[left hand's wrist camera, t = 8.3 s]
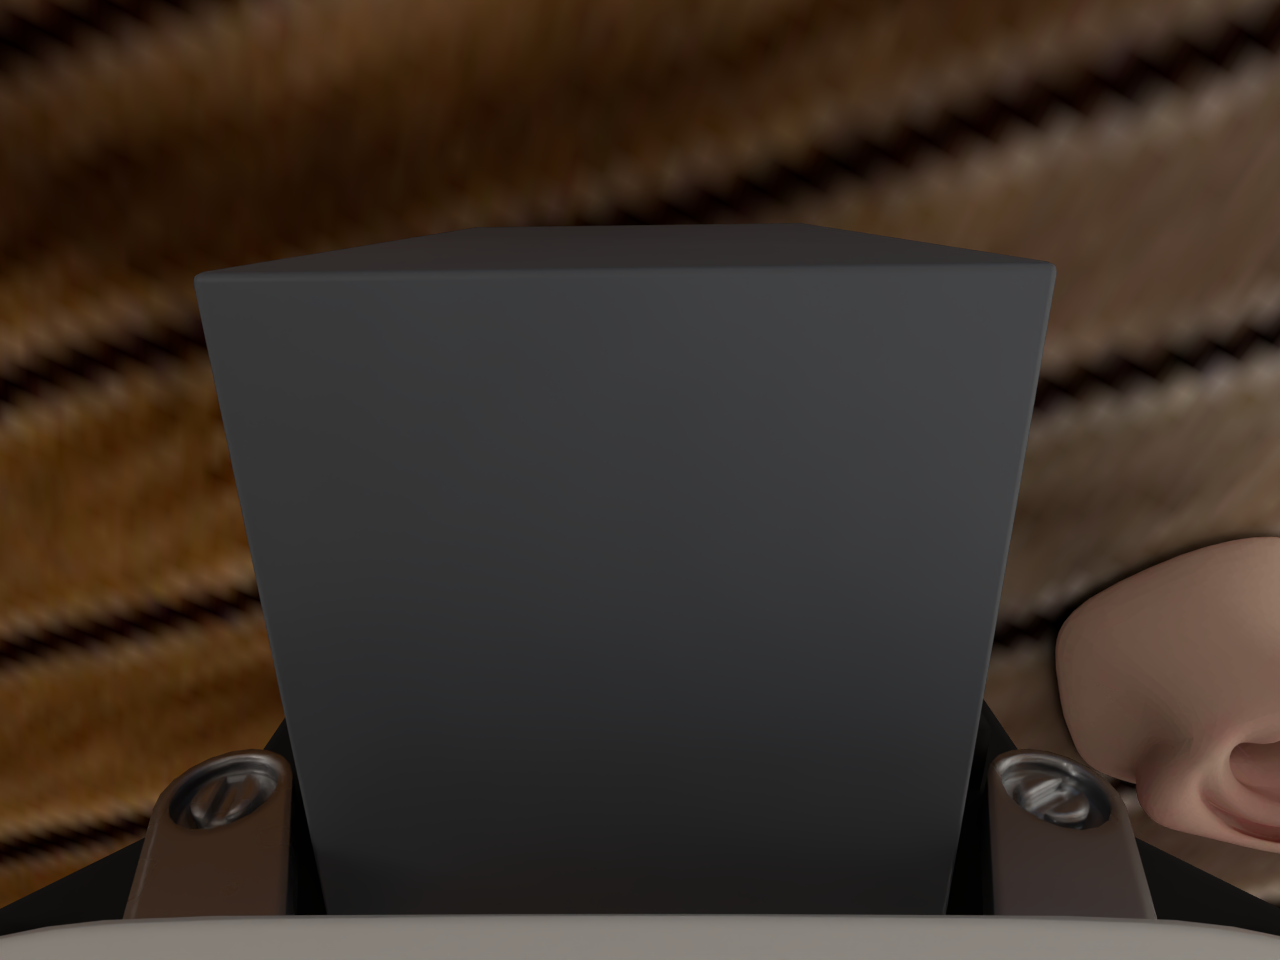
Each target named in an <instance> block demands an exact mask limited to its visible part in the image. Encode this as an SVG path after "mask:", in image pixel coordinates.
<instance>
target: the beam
mask: <svg viewBox="0 0 1280 960" xmlns="http://www.w3.org/2000/svg"><path fill="white" fill-rule="evenodd" d="M1056 274H1057V272H1056V266H1055V265H1054V264H1051V263H1049V262H1046V261H1040V260H1033V259H1027V258H1020V257H1014V256H1008V255H1001V254H995V253H988V252H982V251H976V250H969V249H963V248H956V247H950V246H944V245H937V244H931V243H924V242H918V241H911V240H905V239H899V238H892V237H886V236H879V235H873V234H867V233H860V232H854V231H847V230H841V229H835V228H828V227H822V226H815V225H809V224H802V223H786V224H709V225H632V226H555V227H478V228H470V229H463V230H457V231H451V232H445V233H439V234H433V235H427V236H421V237H414V238H408V239H402V240H396V241H390V242H384V243H378V244H372V245H365V246H359V247H353V248H347V249H341V250H335V251H329V252H323V253H316V254H310V255H304V256H298V257H292V258H286V259H280V260H273V261H267V262H261V263H255V264H249V265H243V266H237V267H231V268H224V269H218V270H212V271H206V272H202V273H200V274H198V275H196V276H195V277H194V287H195V292H196V296H197V301H198V306H199V311H200V315H201V320H202V325H203V330H204V334H205V339H206V344H207V349H208V353H209V358H210V363H211V368H212V372H213V377H214V382H215V387H216V391H217V396H218V401H219V405H220V410H221V415H222V420H223V424H224V429H225V434H226V439H227V443H228V448H229V453H230V458H231V462H232V467H233V472H234V477H235V481H236V486H237V491H238V496H239V500H240V505H241V510H242V514H243V519H244V524H245V529H246V533H247V538H248V543H249V548H250V552H251V557H252V562H253V567H254V571H255V576H256V581H257V586H258V590H259V595H260V600H261V605H262V609H263V614H264V619H265V623H266V628H267V633H268V638H269V642H270V647H271V652H272V657H273V661H274V666H275V671H276V676H277V680H278V685H279V690H280V695H281V699H282V704H283V709H284V714H285V718H286V723H287V728H288V733H289V737H290V742H291V747H292V751H293V756H294V761H295V766H296V770H297V775H298V780H299V785H300V789H301V794H302V799H303V804H304V808H305V813H306V818H307V823H308V827H309V832H310V837H311V842H312V846H313V851H314V856H315V860H316V865H317V870H318V875H319V879H320V884H321V889H322V894H323V898H324V903H325V908H326V913H327V915H450V914H830V915H946V912H947V906H948V900H949V894H950V888H951V883H952V877H953V871H954V865H955V859H956V854H957V848H958V842H959V836H960V830H961V825H962V819H963V813H964V807H965V801H966V796H967V790H968V784H969V778H970V772H971V767H972V761H973V755H974V749H975V743H976V738H977V732H978V726H979V720H980V714H981V709H982V703H983V697H984V691H985V685H986V680H987V674H988V668H989V662H990V656H991V651H992V645H993V639H994V633H995V627H996V622H997V616H998V610H999V604H1000V598H1001V593H1002V587H1003V581H1004V575H1005V569H1006V564H1007V558H1008V552H1009V546H1010V540H1011V535H1012V529H1013V523H1014V517H1015V511H1016V506H1017V500H1018V494H1019V488H1020V482H1021V477H1022V471H1023V465H1024V459H1025V453H1026V448H1027V442H1028V436H1029V430H1030V424H1031V419H1032V413H1033V407H1034V401H1035V395H1036V390H1037V384H1038V378H1039V372H1040V366H1041V361H1042V355H1043V349H1044V343H1045V337H1046V332H1047V326H1048V320H1049V314H1050V308H1051V303H1052V297H1053V291H1054V285H1055V279H1056Z"/></svg>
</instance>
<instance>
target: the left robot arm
mask: <svg viewBox="0 0 1280 960" xmlns="http://www.w3.org/2000/svg"><path fill="white" fill-rule="evenodd" d="M0 960H1280V909H1279V908H1277V907H1275V906H1273V905H1271V904H1269V903H1267V902H1265V901H1263V900H1261V899H1259V898H1257V897H1255V896H1253V895H1251V894H1249V893H1247V892H1245V891H1243V890H1241V889H1239V888H1237V887H1235V886H1233V885H1231V884H1229V883H1227V882H1225V881H1223V880H1221V879H1219V878H1217V877H1215V876H1213V875H1211V874H1209V873H1206V872H1204V871H1202V870H1200V869H1198V868H1196V867H1194V866H1192V865H1190V864H1188V863H1186V862H1184V861H1182V860H1180V859H1178V858H1176V857H1174V856H1172V855H1170V854H1168V853H1166V852H1164V851H1162V850H1160V849H1158V848H1156V847H1154V846H1152V845H1150V844H1148V843H1146V842H1144V841H1142V840H1140V839H1138V838H1136V837H1134V833H1133V829H1132V826H1131V822H1130V819H1129V815H1128V811H1127V808H1126V806H1125V804H1124V802H1123V800H1122V798H1121V796H1120V794H1119V793H1118V792H1117V791H1116V790H1115V789H1114V788H1113V787H1112V786H1111V785H1110V783H1109V782H1108V781H1107V780H1106V779H1104V778H1103V777H1101V776H1100V775H1099V774H1097V773H1096V772H1094V771H1093V770H1092V769H1090V768H1089V767H1087V766H1085V765H1083V764H1080V763H1078V762H1076V761H1074V760H1072V759H1070V758H1068V757H1064V756H1061V755H1058V754H1055V753H1052V752H1048V751H1041V750H1033V749H1021V750H1018V749H1017V748H1016V746H1015V745H1014V743H1013V742H1012V740H1011V739H1010V738H1009V736H1008V735H1007V733H1006V732H1005V730H1004V729H1003V727H1002V726H1001V724H1000V723H999V721H998V720H997V718H996V717H995V715H994V714H993V712H992V711H991V710H990V708H989V707H988V705H987V704H986V702H985V701H984V699H983V703H982V709H981V714H980V720H979V726H978V732H977V738H976V743H975V749H974V755H973V761H972V767H971V772H970V778H969V784H968V790H967V796H966V801H965V807H964V813H963V819H962V825H961V830H960V836H959V842H958V848H957V854H956V859H955V865H954V871H953V877H952V883H951V888H950V894H949V900H948V906H947V912H946V915H830V914H450V915H327V913H326V908H325V903H324V898H323V894H322V889H321V884H320V879H319V875H318V870H317V865H316V860H315V856H314V851H313V846H312V842H311V837H310V832H309V827H308V823H307V818H306V813H305V808H304V804H303V799H302V794H301V789H300V785H299V780H298V775H297V770H296V766H295V761H294V756H293V751H292V747H291V742H290V737H289V733H288V728H287V723H286V718H285V719H284V720H283V721H282V723H281V724H280V726H279V727H278V729H277V730H276V732H275V733H274V735H273V736H272V738H271V739H270V741H269V742H268V744H267V745H266V747H265V748H264V749H263V750H259V749H247V750H239V751H232V752H228V753H225V754H222V755H219V756H216V757H212V758H210V759H208V760H206V761H204V762H202V763H200V764H197V765H195V766H193V767H191V768H190V769H188V770H187V771H186V772H184V773H183V774H181V775H180V776H179V777H177V778H176V779H174V780H173V781H172V782H171V783H170V785H169V786H168V787H167V788H166V789H165V790H164V791H163V792H162V793H161V794H160V796H159V798H158V800H157V802H156V804H155V806H154V808H153V811H152V815H151V819H150V822H149V826H148V829H147V833H146V837H145V838H143V839H141V840H139V841H137V842H135V843H133V844H131V845H129V846H127V847H125V848H123V849H121V850H119V851H117V852H115V853H113V854H111V855H109V856H107V857H105V858H103V859H101V860H99V861H97V862H95V863H93V864H91V865H88V866H86V867H84V868H82V869H80V870H78V871H76V872H74V873H72V874H70V875H68V876H66V877H64V878H62V879H60V880H58V881H56V882H54V883H52V884H50V885H48V886H46V887H44V888H42V889H40V890H38V891H36V892H34V893H32V894H30V895H28V896H26V897H23V898H21V899H19V900H17V901H15V902H13V903H11V904H9V905H7V906H5V907H3V908H1V909H0Z"/></svg>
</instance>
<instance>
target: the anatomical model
mask: <svg viewBox="0 0 1280 960" xmlns="http://www.w3.org/2000/svg"><path fill="white" fill-rule="evenodd" d="M1055 651H1056V673H1057V680H1058V687H1059V693H1060V700H1061V706H1062V710H1063V715H1064V718H1065V721H1066V724H1067V726H1068V729H1069V732H1070V734H1071V737H1072V739H1073V742H1074V745H1075V747H1076V749H1077V751H1078V753H1079V754H1080V756H1081V757H1082V758H1083V760H1084V761H1085V762H1086V763H1087V764H1088V765H1090V766H1091V767H1093V768H1094V769H1096V770H1098V771H1099V772H1101V773H1104V774H1106V775H1108V776H1111V777H1114V778H1117V779H1121V780H1124V781H1127V782H1131V783H1135V784H1136V791H1137V797H1138V801H1139V803H1140V805H1141V807H1142V808H1143V810H1144V811H1145V813H1146V814H1147V815H1148V816H1149V817H1150V818H1151V819H1152V820H1153V821H1155V822H1156V823H1158V824H1160V825H1162V826H1164V827H1167V828H1170V829H1173V830H1176V831H1181V832H1185V833H1190V834H1194V835H1198V836H1203V837H1207V838H1211V839H1215V840H1219V841H1223V842H1227V843H1231V844H1236V845H1240V846H1244V847H1249V848H1254V849H1258V850H1263V851H1268V852H1275V853H1280V537H1251V538H1245V539H1238V540H1232V541H1228V542H1224V543H1219V544H1215V545H1211V546H1207V547H1204V548H1201V549H1197V550H1194V551H1191V552H1188V553H1185V554H1182V555H1179V556H1177V557H1174V558H1172V559H1169V560H1167V561H1164V562H1162V563H1159V564H1157V565H1155V566H1152V567H1150V568H1147V569H1145V570H1143V571H1141V572H1139V573H1137V574H1134V575H1132V576H1130V577H1128V578H1126V579H1124V580H1122V581H1119V582H1118V583H1116V584H1114V585H1112V586H1110V587H1109V588H1107V589H1105V590H1103V591H1102V592H1100V593H1098V594H1096V595H1095V596H1093V597H1091V598H1089V599H1088V600H1087V601H1085V602H1084V603H1083V604H1082V605H1080V606H1079V607H1078V608H1077V609H1075V610H1074V611H1073V612H1072V613H1071V615H1070V616H1069V617H1068V618H1067V619H1066V621H1065V622H1064V623H1063V625H1062V627H1061V629H1060V631H1059V634H1058V637H1057V642H1056V649H1055Z"/></svg>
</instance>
